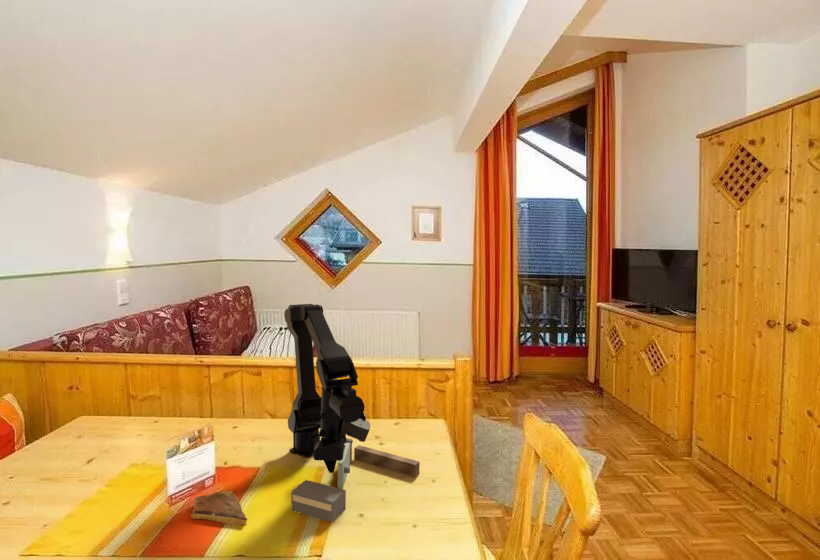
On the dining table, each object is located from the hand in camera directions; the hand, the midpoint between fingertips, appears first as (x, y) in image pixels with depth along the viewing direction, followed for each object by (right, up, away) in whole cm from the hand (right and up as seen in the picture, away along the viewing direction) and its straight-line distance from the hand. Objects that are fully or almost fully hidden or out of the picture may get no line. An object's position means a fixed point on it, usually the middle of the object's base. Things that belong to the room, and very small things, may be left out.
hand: (331, 472), depth 109 cm
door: (+3, -2, +3) cm, 5 cm away
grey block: (-1, -4, -11) cm, 11 cm away
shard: (-20, -4, -11) cm, 23 cm away
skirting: (+12, -2, +9) cm, 15 cm away
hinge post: (+3, -2, +10) cm, 11 cm away
